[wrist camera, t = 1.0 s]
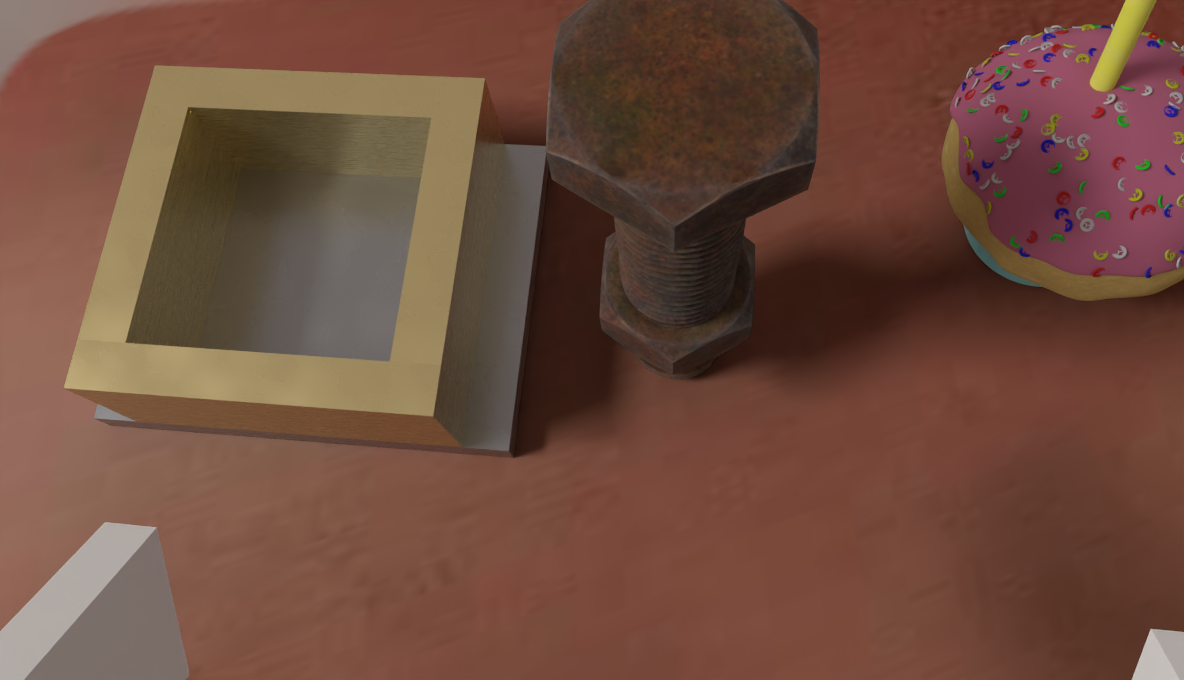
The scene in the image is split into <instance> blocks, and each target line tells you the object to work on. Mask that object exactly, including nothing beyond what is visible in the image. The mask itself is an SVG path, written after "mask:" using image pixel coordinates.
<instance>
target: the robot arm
mask: <svg viewBox="0 0 1184 680" xmlns="http://www.w3.org/2000/svg"><path fill="white" fill-rule="evenodd" d="M188 676H189V669H188V665H187V661H186V656H185V652H184V647H183V643H182V638H181V634H180V629H179V625H178V620H177V616H176V611H175V607H174V602H173V598H172V593H171V589H170V584H169V580H168V575H167V571H166V566H165V562H164V557H163V553H162V548H161V544H160V539H159V535H158V531H157V527H147V526H137V525H128V524H118V523H108V522H105V523H104V524H103V525H102V526H101V527H100V528H99V529H98V530H97V531H96V532H95V533H94V534H93V535H92V536H91V537H90V538H89V539H88V540H87V542H86V543H85V544H84V545H83V546H82V547H81V548H80V549H79V550H78V551H77V552H76V553H75V554H74V555H73V556H72V557H71V558H70V559H69V560H68V561H67V562H66V563H65V564H64V565H63V567H62V568H61V569H60V570H59V571H58V572H57V573H56V574H55V575H54V576H53V577H52V578H51V579H50V580H49V581H48V582H47V583H46V584H45V585H44V586H43V587H42V588H41V589H40V590H39V592H38V593H37V594H36V595H35V596H34V597H33V598H32V599H31V600H30V601H29V602H28V603H27V604H26V605H25V606H24V607H23V608H22V609H21V610H20V611H19V612H18V613H17V614H16V615H15V617H14V618H13V619H12V620H11V621H10V622H9V623H8V624H7V625H6V626H5V627H4V628H3V629H2V630H1V631H0V680H186V679H187V677H188ZM1132 680H1184V632H1178V631H1168V630H1159V629H1151V630H1150V632H1149V635H1148V638H1147V640H1146V643H1145V646H1144V648H1143V651H1142V654H1141V656H1140V659H1139V662H1138V664H1137V667H1136V670H1135V673H1134V675H1133V678H1132Z"/></svg>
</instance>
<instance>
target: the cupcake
mask: <svg viewBox="0 0 1184 680" xmlns="http://www.w3.org/2000/svg"><path fill="white" fill-rule="evenodd" d="M1156 1H1157V0H1126V1H1125V3H1124V6H1123V8H1122V10H1121V12H1120V15H1119V17H1118V19H1117V21H1116V23H1115V24H1111V27H1112V28H1110V27H1109V26H1106V25H1103V26H1100V25H1096V24H1092V25H1090V24H1086V25H1083V26H1073V27H1072V28H1064V29H1062V27H1061V26H1052V27H1051V28H1045V29H1044V31H1045V33H1042V32H1041V33H1038V34H1035V35H1033V36H1029V35H1027V36H1025V37H1023V38H1022V39H1021V41H1020V42H1017V41H1016V40H1011V41H1009V42H1008V43H1007V44H1006V45H1003V46H1001V47H1000V48H999V51H997V52H994V53H992V54H991V57H990V58H988V59H987V60H985V61H984V62H983V63H981V64H980V65H979V66H978V67H976V68H975V69H974V68H973V67H972V68H970V69H969V71H968V73H967V76H966V79H965V80H964V81H963V83H962V84H961V86H960V87H959V89H958V90H957V92H956V94H955V96H954V98H953V100H952V103H951V106H950V114H951V116H952V120H951V122H950V125H949V128H948V131H947V135H946V139H945V143H944V147H943V152H942V168H943V172H944V176H945V181H946V188H947V194H948V198H949V202H950V205H951V207H952V210H953V211H954V213H955V214H956V216H957V217H958V219H959V220H960V221H961V223H962V224H963V225H964V230H965V233H966V236H967V239H968V241H969V243H970V245H971V247H972V248H973V250H974V252H975V253H976V254H977V256H978V257H979V258H980V259H981V260H982V261H983V262H984V263H985V264H986V265H987V266H988V267H989V268H991V269H992V270H993V271H995V272H996V273H998V274H999V275H1001V276H1003V277H1005V278H1007V279H1009V280H1011V281H1014V282H1017V283H1020V284H1024V285H1028V286H1035V287H1044V288H1046V289H1049V290H1051V291H1053V292H1056V293H1058V294H1060V295H1063V296H1065V297H1068V298H1071V299H1076V300H1082V301H1096V300H1103V299H1112V298H1128V297H1141V296H1147V295H1152V294H1155V293H1158V292H1160V291H1162V290H1164V289H1166V288H1168V287H1170V286H1172V285H1174V284H1176V283H1178V282H1179V281H1181V280H1183V279H1184V46H1182V48H1181V49H1180V48H1179V47H1178V46H1177V44H1176V43H1175V42H1172V43H1173V44H1171V43H1169V42H1167V41H1164V40H1162V39H1160V37H1159V36H1158V35H1157V34H1155V33H1150V32H1143V33H1142V34H1141V32H1142V30H1143V28H1144V25H1145V23H1146V21H1147V19H1148V17H1149V15H1150V13H1151V11H1152V9H1153V7H1154V5H1155V3H1156ZM1054 28H1056V29H1054ZM1058 28H1059V30H1057V29H1058ZM1048 30H1049V31H1048ZM1147 34H1149V35H1147ZM1155 37H1156V38H1155ZM1010 43H1011V44H1010ZM1013 43H1014V44H1013ZM1009 44H1010V45H1009ZM1012 44H1013V45H1012ZM1004 47H1005V48H1004ZM970 71H971V72H970Z"/></svg>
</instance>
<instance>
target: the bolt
mask: <svg viewBox="0 0 1184 680" xmlns="http://www.w3.org/2000/svg"><path fill="white" fill-rule="evenodd" d="M819 101H820V84H819V42H818V34H817V29H816V28H815V27H814V26H813V25H812V24H811V23H810V22H808V21H807V20H806V19H805V18H804V17H803V16H802V15H800V14H799V13H798V12H797V11H796V10H795V9H794V8H792V7H791V6H790V5H788V4H787V3H785V2H784V1H783V0H590V1H588V2H587V3H585V4H584V5H583V6H582V7H580V8H579V9H578V10H576V11H575V12H574V13H573V14H571V15H570V16H569V17H567V18H566V19H565V20H564V21H562V22H561V23H560V26H559V29H558V33H557V37H556V41H555V48H554V55H553V63H552V70H551V78H550V85H549V94H548V108H547V128H546V155H547V159H548V164H549V169H550V173H551V178H552V180H553V181H555V182H557V183H558V184H560V185H562V186H563V187H565V188H567V189H568V190H570V191H572V192H574V193H575V194H577V195H579V196H580V197H582V198H584V199H585V200H587V201H589V202H590V203H592V204H594V205H596V206H597V207H599V208H601V209H602V210H604V211H606V212H607V213H609V214H611V215H613V216H614V222H615V230H616V232H614V233H613V234H611V235H610V236H608V237H607V238H606V243H605V250H604V258H603V268H602V280H601V294H600V323H601V328H602V331H604V332H605V333H606V334H608V335H609V336H610V337H611V338H613V339H614V340H615V341H617V342H618V343H619V344H621V345H622V346H624V347H625V348H627V349H628V350H629V351H631V352H632V353H634V354H635V355H636V357H637V358H638V360H639V361H640V362H641V363H642V364H643V365H644V366H645V367H646V368H648V369H649V370H650V371H652V372H654V373H656V374H658V375H661V376H664V377H668V378H671V379H687V378H691V377H694V376H696V375H699V374H700V373H702V372H704V371H705V370H707V369H708V368H709V367H710V366H711V365H712V364H711V363H712V362H713V361H714V359H715V358H716V359H717V358H718V356H719V355H721V354H723V353H725V352H726V351H728V350H730V349H732V348H733V347H735V346H737V345H738V344H740V343H742V342H743V341H745V340H747V339H748V338H749V336H750V332H751V328H752V321H753V306H754V282H755V244H754V243H752V242H751V241H750V240H749V239H747V238H746V237H745V236H744V235H743V234H744V228H745V221H746V218H748V217H750V216H752V215H754V214H756V213H759V212H761V211H763V210H765V209H767V208H769V207H771V206H774V205H776V204H778V203H780V202H782V201H784V200H786V199H789V198H791V197H793V196H795V195H797V194H799V193H801V192H804V191H806V190H808V187H809V184H810V180H811V177H812V173H813V169H814V166H815V162H816V152H817V139H818V126H819Z"/></svg>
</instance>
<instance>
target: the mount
mask: <svg viewBox="0 0 1184 680" xmlns="http://www.w3.org/2000/svg"><path fill="white" fill-rule="evenodd" d="M548 175H549V164H548V159H547V155H546V146H534V145H512V144H505V142H504V138H503V135H502V132H501V129H500V125H499V122H498V119H497V116H496V113H495V109H494V106H493V103H492V100H491V96H490V93H489V90H488V87H487V84H486V80H485V78H462V77H436V76H411V75H385V74H359V73H334V72H308V71H282V70H257V69H231V68H205V67H180V66H155V68H154V71H153V75H152V78H151V82H150V85H149V89H148V92H147V96H146V99H145V103H144V107H143V110H142V114H141V117H140V121H139V124H138V128H137V131H136V135H135V138H134V142H133V145H132V149H131V152H130V156H129V159H128V163H127V167H126V170H125V174H124V177H123V181H122V184H121V188H120V191H119V195H118V198H117V202H116V205H115V209H114V212H113V216H112V219H111V223H110V227H109V230H108V234H107V237H106V241H105V244H104V248H103V251H102V255H101V258H100V262H99V265H98V269H97V272H96V276H95V279H94V283H93V287H92V290H91V294H90V297H89V301H88V304H87V308H86V311H85V315H84V318H83V322H82V325H81V329H80V332H79V336H78V339H77V343H76V347H75V350H74V354H73V357H72V361H71V364H70V368H69V371H68V375H67V378H66V382H65V385H64V389H67V390H69V391H71V392H73V393H75V394H77V395H80V396H82V397H84V398H86V399H88V400H91V401H93V402H95V403H97V404H98V405H97V408H96V412H95V416H94V418H95V419H97V420H99V421H101V422H104V423H106V424H108V425H112V426H124V427H137V428H149V429H162V430H174V431H187V432H199V433H212V434H224V435H237V436H249V437H262V438H274V439H287V440H299V441H312V442H324V443H337V444H349V445H362V446H374V447H387V448H399V449H412V450H424V451H437V452H449V453H462V454H474V455H486V456H499V457H511V458H514V450H515V442H516V434H517V426H518V418H519V410H520V402H521V393H522V385H523V377H524V369H525V361H526V353H527V345H528V337H529V329H530V321H531V313H532V304H533V296H534V288H535V280H536V272H537V264H538V256H539V248H540V240H541V232H542V224H543V215H544V207H545V199H546V191H547V183H548Z"/></svg>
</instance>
